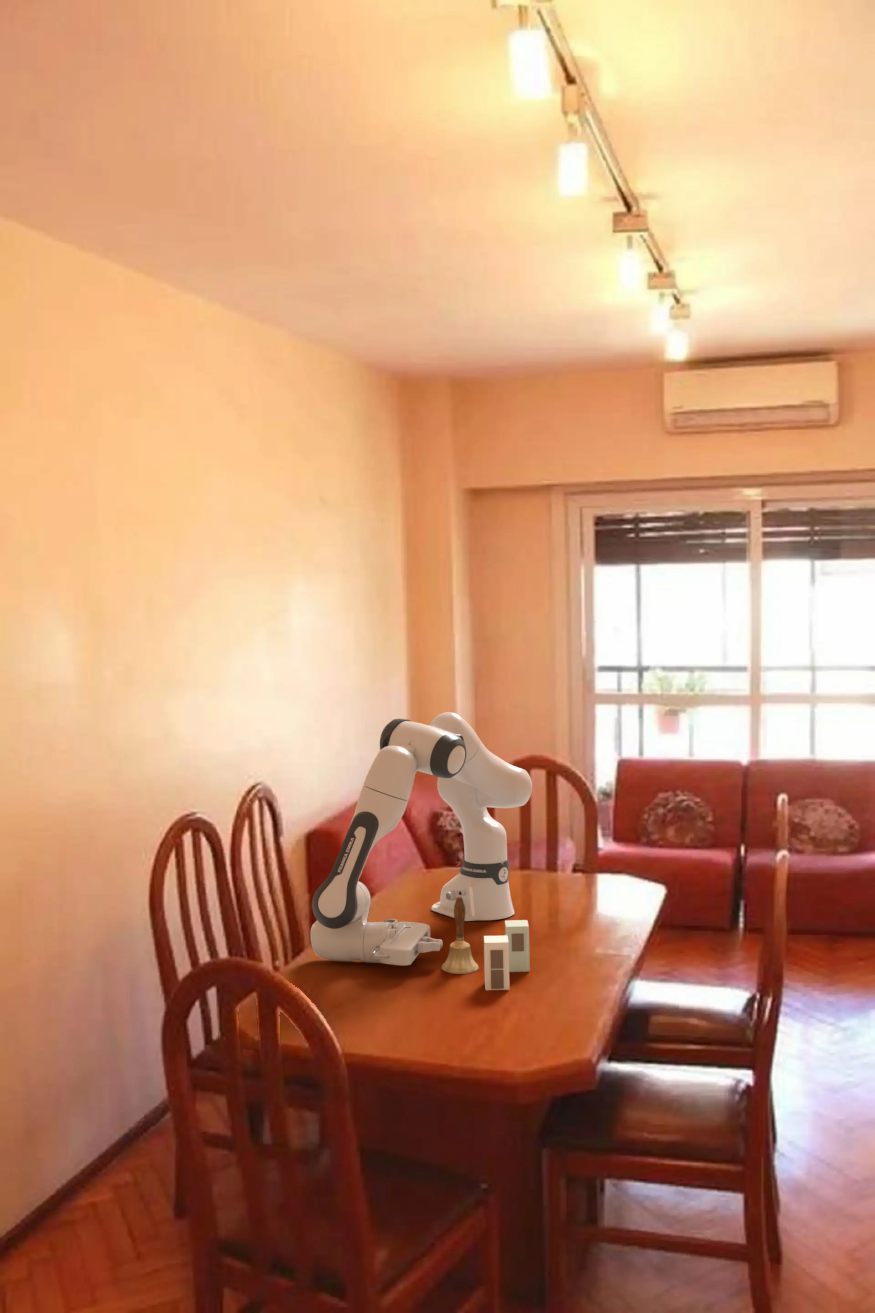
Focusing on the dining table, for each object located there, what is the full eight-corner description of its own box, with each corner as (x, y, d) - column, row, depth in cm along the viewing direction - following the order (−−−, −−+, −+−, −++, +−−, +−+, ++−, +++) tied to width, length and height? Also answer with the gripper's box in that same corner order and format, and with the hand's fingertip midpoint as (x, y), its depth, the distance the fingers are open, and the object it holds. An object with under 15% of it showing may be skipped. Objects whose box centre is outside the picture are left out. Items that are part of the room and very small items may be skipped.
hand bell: (483, 964, 255) (481, 893, 254) (472, 975, 247) (470, 903, 246) (448, 961, 258) (446, 891, 257) (436, 972, 250) (434, 900, 249)
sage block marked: (505, 965, 254) (504, 920, 254) (528, 964, 254) (527, 920, 254) (506, 972, 249) (506, 927, 248) (529, 972, 249) (528, 926, 248)
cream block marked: (484, 982, 243) (483, 936, 242) (508, 982, 243) (507, 935, 242) (485, 990, 237) (484, 943, 237) (509, 990, 237) (508, 942, 237)
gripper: (367, 942, 246) (430, 945, 243) (392, 916, 266) (450, 918, 263) (368, 971, 246) (431, 974, 243) (393, 943, 266) (451, 946, 263)
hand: (441, 945), depth 253 cm, fingers closed
